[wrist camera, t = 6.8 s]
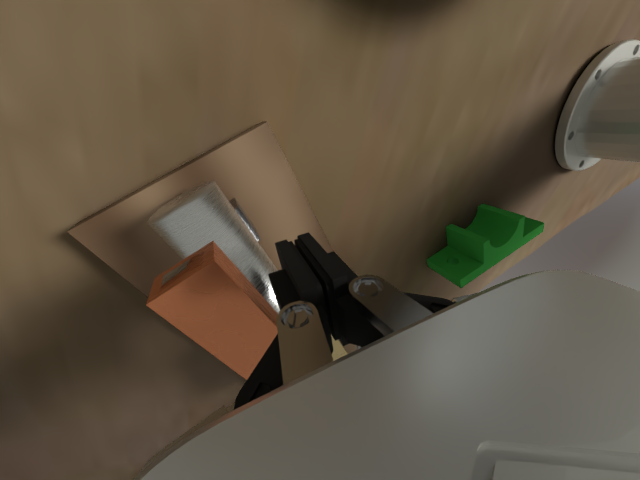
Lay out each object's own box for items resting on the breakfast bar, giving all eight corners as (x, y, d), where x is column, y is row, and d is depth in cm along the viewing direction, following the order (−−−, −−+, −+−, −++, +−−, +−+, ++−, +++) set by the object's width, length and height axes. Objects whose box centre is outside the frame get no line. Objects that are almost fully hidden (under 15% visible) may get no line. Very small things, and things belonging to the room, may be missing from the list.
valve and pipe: (226, 166, 15) (234, 185, 10) (350, 355, 26) (378, 400, 22) (143, 213, 14) (115, 253, 10) (308, 385, 26) (329, 437, 21)
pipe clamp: (500, 189, 28) (548, 200, 24) (499, 217, 30) (543, 231, 26) (422, 240, 26) (459, 261, 22) (426, 266, 28) (462, 289, 24)
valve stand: (262, 121, 16) (267, 121, 14) (371, 331, 29) (378, 341, 27) (79, 221, 14) (66, 231, 13) (281, 396, 27) (285, 409, 26)
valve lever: (338, 370, 18) (359, 410, 15) (305, 395, 17) (321, 440, 15) (216, 225, 10) (219, 256, 8) (155, 263, 10) (139, 308, 8)
